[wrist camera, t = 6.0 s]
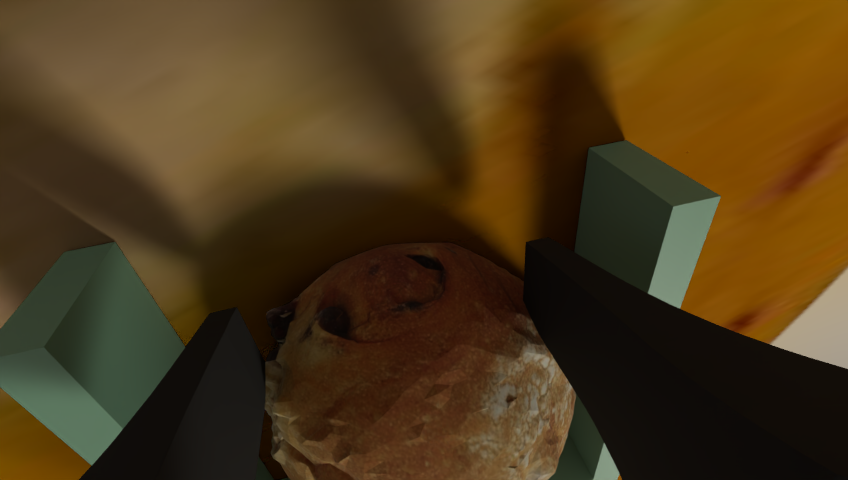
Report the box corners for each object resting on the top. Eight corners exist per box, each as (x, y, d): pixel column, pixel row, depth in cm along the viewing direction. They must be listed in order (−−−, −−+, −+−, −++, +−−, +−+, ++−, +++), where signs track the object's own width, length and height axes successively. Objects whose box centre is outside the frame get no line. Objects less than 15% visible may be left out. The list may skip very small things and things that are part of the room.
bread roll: (356, 370, 21) (429, 545, 17) (154, 365, 12) (208, 723, 8) (517, 254, 19) (641, 424, 15) (413, 149, 10) (644, 487, 6)
